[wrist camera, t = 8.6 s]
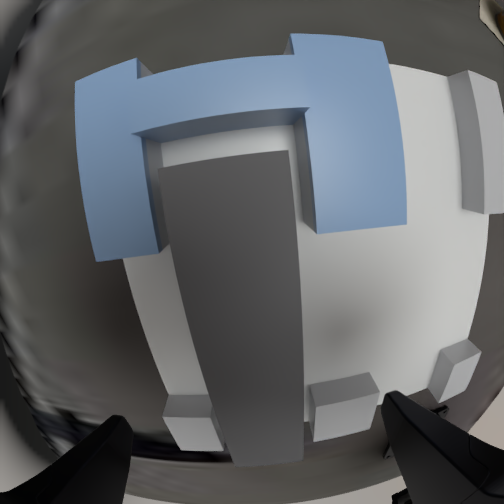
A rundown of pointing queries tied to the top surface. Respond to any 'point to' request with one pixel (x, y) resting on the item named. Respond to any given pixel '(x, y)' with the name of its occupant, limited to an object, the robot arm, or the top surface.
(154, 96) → the white plate with bars
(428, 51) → the top surface
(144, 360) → the top surface
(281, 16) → the top surface
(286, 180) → the long grey beam
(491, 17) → the condiment
